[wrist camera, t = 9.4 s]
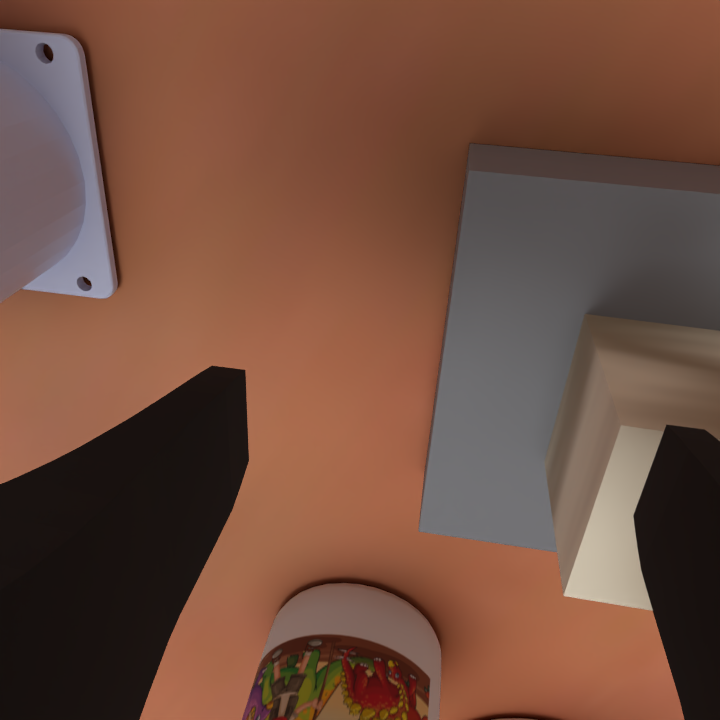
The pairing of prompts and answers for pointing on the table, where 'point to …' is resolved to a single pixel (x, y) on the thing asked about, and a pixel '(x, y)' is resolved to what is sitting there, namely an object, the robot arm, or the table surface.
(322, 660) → the milk bottle
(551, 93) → the table surface
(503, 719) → the fruit juice
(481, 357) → the grey base
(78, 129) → the robot arm
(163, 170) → the table surface
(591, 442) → the maple cube
